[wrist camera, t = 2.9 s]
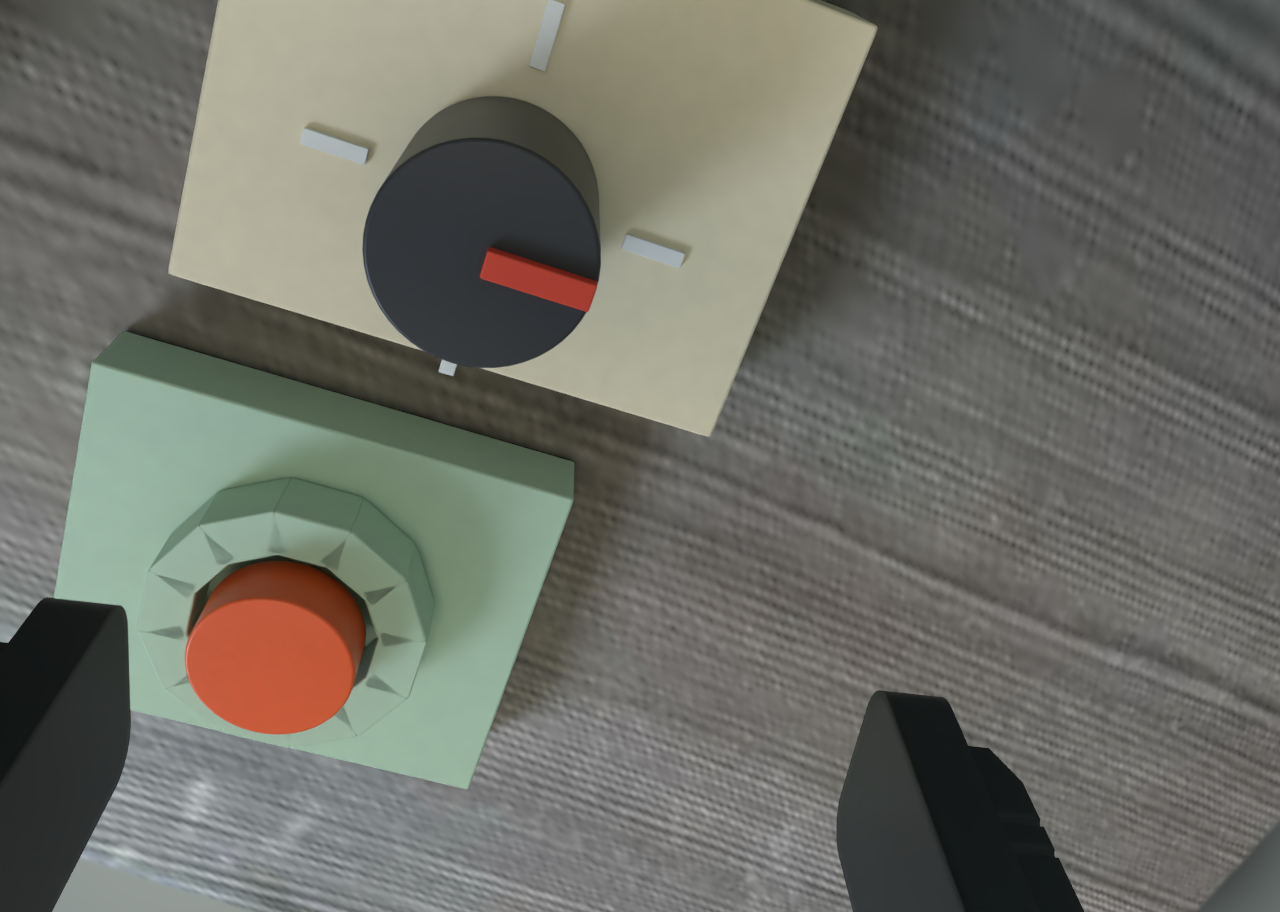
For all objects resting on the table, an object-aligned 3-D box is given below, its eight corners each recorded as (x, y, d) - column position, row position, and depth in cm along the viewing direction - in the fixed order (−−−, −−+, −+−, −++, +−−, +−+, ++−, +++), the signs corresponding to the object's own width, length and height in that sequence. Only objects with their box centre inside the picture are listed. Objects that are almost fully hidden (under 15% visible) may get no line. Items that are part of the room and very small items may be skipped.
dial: (374, 261, 27) (334, 335, 22) (425, 66, 25) (392, 106, 21) (564, 319, 27) (559, 403, 23) (626, 135, 26) (633, 188, 21)
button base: (69, 642, 34) (9, 732, 31) (123, 329, 30) (61, 390, 27) (474, 741, 36) (462, 836, 33) (575, 461, 32) (573, 534, 29)
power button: (191, 670, 31) (170, 713, 29) (221, 541, 29) (200, 579, 27) (346, 707, 31) (334, 752, 30) (383, 583, 30) (372, 623, 28)
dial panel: (202, 249, 29) (161, 289, 27) (291, -201, 25) (253, -210, 22) (696, 401, 32) (706, 452, 29) (851, 11, 28) (881, 27, 25)
